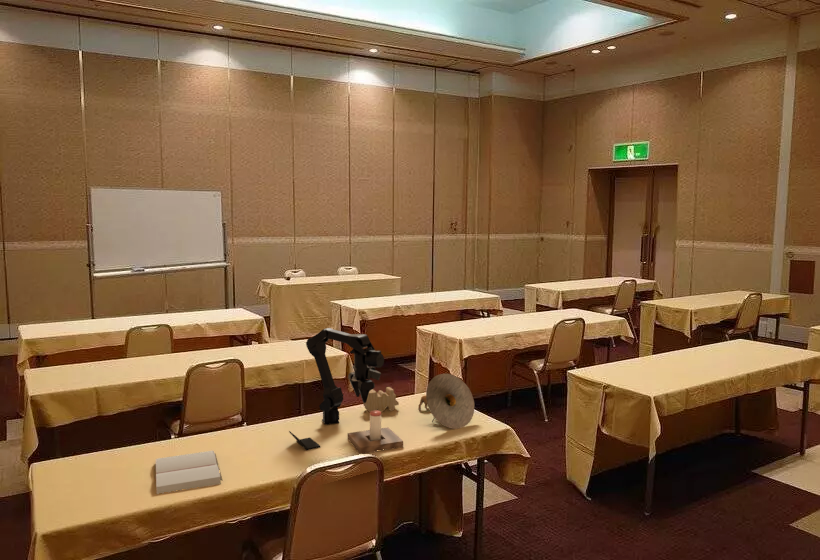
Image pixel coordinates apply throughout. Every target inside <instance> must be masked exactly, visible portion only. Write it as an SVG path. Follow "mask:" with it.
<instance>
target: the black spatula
mask: <svg viewBox="0 0 820 560" xmlns="http://www.w3.org/2000/svg"><path fill="white" fill-rule="evenodd" d="M288 433H289V434H290V435H291V436H292V437H293V438H294V439H295V440H296V443H297V444H299V445H300V446H301V447H302V448H303V449H304V450H305V451H311V450H314V449H315V450H316V449H319V448H321V445H320V444H319V443H318V442H317V441H315V440H314V439H312V437H305V438H299V437H297V435H295V434H294V433H293V432H292V431H290V430H288Z"/></svg>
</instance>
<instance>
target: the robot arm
mask: <svg viewBox="0 0 820 560" xmlns="http://www.w3.org/2000/svg"><path fill="white" fill-rule="evenodd" d="M329 340H332V341H335V342H340V343H343V344H345V345H348V346H349V347H350V348H352V349H351V351H349V354H353V360H354V361H353V364H354V365H352V369H353V372H352V371H350V372H349V373H348V375H347V376H348V378H347V379H348V380H349V382H350V385H351V387H352V389H353V391H354V394H355V396H356V397H357V398H359V397H360V398H361V400H362V403H366V401H367V397H368V394H369V391H370V390H372V389H373V390H374V389H375V387H376V385H375V384H376V383H375V382H374V381H373V380H376V381H380V378H381V375H382V373H381V372H380V371H378V370H376V368H382V367H383V366H384V364H385V357H384V354H382V351H381V350H376V349H375V347H374V345H373V343H372V342H371V339H370V338H369V335H367V334H366V333H364V334H363V333H348V332H344V331H340V330H337V329H333V328H331V327H326V328H323V329H322V330H320V331H319V332H318V333H316V334H315V335H313V336H312V337H309V338H308V339H307V340H306V342H305V345H306V348H307V350H308V353H309V354H310V355H311V356H312V357H313V358H314V360H315V364H316V367H317V370H318V372H319V373H318V374H319V377H320V380H321V382H322V386H323V394H322V397H323V401H322V402H321V403H319V405H318V407H319V410H320V411H322V419H321V421H322V423H323V424H324V425H332V424H333V425H334V424H339V423H340V411H339V408H340V407H341V405H342V403H343V401H344V394H343V390H342V388H341V387H340V386H339V387H338V386H337V385H336V384H335V381H334V379H333V374H332V372H331V368H330V365H329V362H328V358H327V355H326V352H327V342H329ZM371 379H373V380H371Z"/></svg>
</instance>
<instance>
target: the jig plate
mask: <svg viewBox="0 0 820 560" xmlns="http://www.w3.org/2000/svg"><path fill="white" fill-rule="evenodd" d="M347 440H348V441H349V443H350V444H351V443H352V444H353V445H352V444H351V445H352V446H353V447H354V448H355V450H356V451H357V452H358V453H359V454H360V453H362V454H368V453H375V452H378V451H377V450H381V451H386V450H385V449H387V450H392V448H394V449H398V447H400V448H404V440H403V439H402V438H401V437H400V436H399V435H398V434H396V433H395V432H394V431H393V430H392V428H390V427H388V426H387V427H381V440H376V441H370V429H367V430H361V431H360V430H359V431H353V432H347ZM383 449H384V450H383ZM374 451H375V452H374Z"/></svg>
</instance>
